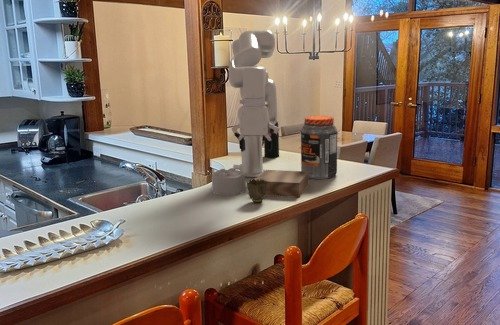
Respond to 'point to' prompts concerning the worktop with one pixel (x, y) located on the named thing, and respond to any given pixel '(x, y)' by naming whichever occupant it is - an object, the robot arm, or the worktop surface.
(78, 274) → the worktop surface
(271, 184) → the walnut block
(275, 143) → the wine bottle
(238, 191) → the grey studded block
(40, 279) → the worktop surface
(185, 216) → the worktop surface
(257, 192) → the cup
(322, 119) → the supplement tub
